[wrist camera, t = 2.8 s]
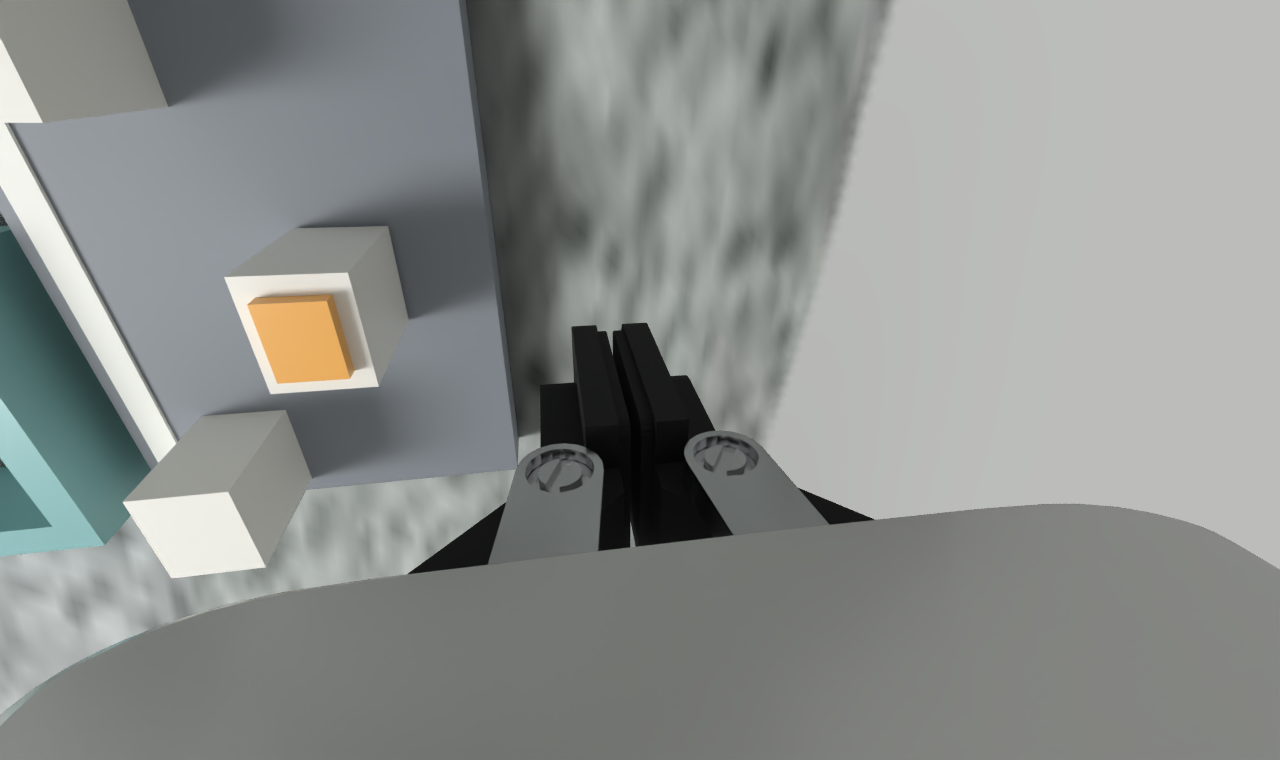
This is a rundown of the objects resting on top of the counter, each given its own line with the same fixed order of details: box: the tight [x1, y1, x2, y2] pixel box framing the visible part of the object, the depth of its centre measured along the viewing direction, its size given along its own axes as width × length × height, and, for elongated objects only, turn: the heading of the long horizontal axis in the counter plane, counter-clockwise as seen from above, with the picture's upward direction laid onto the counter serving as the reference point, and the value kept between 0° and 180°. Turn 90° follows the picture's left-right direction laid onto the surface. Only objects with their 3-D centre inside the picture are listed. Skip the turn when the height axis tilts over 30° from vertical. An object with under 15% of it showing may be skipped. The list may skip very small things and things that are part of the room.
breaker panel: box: [0, 0, 519, 578], centre depth 15 cm, size 16×12×6 cm
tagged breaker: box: [224, 226, 409, 394], centre depth 14 cm, size 3×2×4 cm
